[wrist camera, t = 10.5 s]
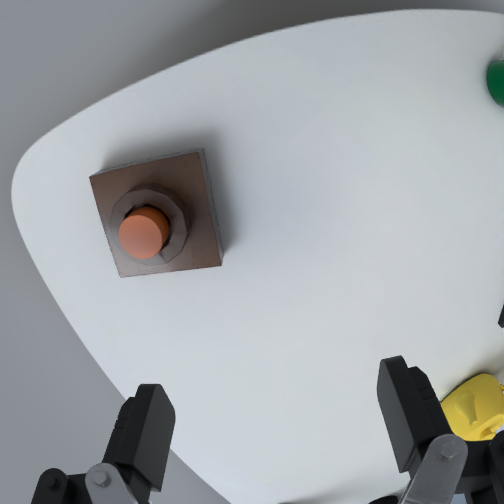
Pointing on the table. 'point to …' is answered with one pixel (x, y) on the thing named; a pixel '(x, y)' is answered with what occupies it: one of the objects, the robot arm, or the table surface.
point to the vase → (386, 500)
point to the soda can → (496, 81)
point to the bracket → (501, 319)
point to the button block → (162, 211)
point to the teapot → (475, 408)
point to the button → (143, 232)
